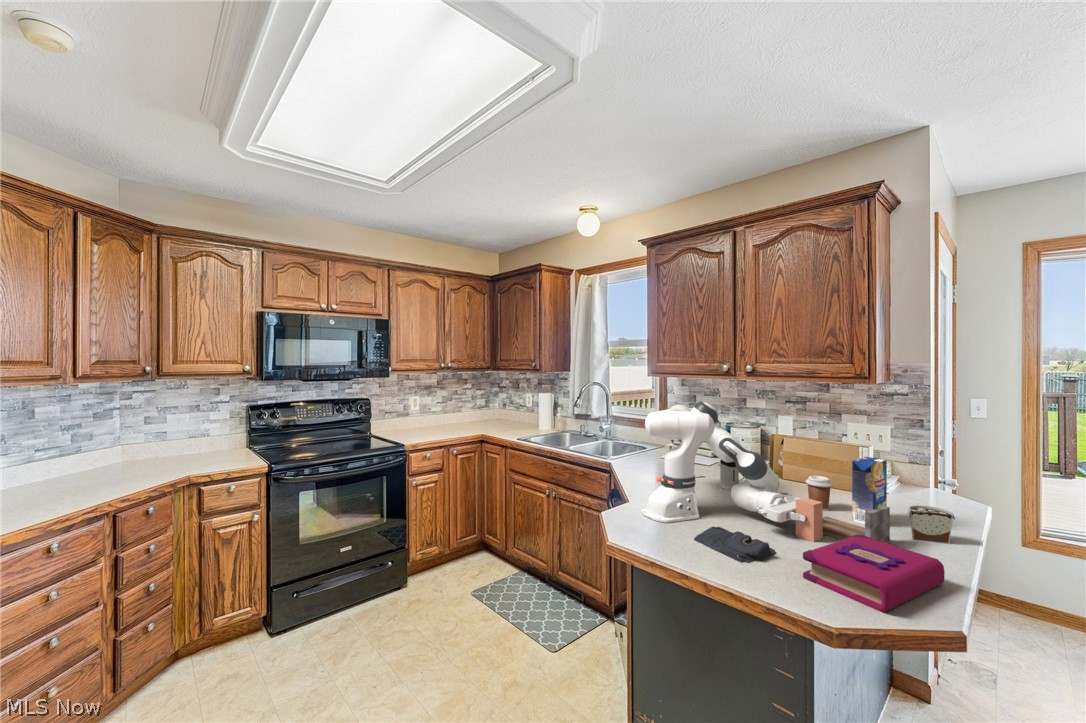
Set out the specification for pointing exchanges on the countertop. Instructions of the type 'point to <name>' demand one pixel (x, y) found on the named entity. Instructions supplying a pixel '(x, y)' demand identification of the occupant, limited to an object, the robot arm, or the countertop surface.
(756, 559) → the folded black shirt
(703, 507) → the countertop surface
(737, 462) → the robot arm
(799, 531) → the salmon pink brick
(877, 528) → the walnut shelf
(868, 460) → the beverage box
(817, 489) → the coffee cup
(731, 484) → the glass holder
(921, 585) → the book
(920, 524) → the food container
